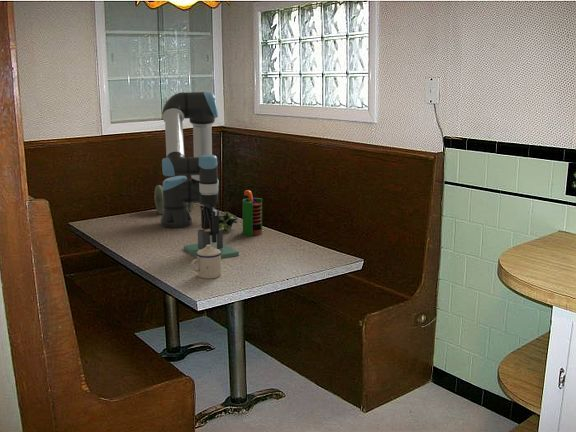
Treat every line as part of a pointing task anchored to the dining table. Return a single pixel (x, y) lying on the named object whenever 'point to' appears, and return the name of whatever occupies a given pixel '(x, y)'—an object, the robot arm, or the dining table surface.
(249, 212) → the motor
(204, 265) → the teacup with lid
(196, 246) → the header board
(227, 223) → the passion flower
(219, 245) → the plug housing
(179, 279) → the dining table surface
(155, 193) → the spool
